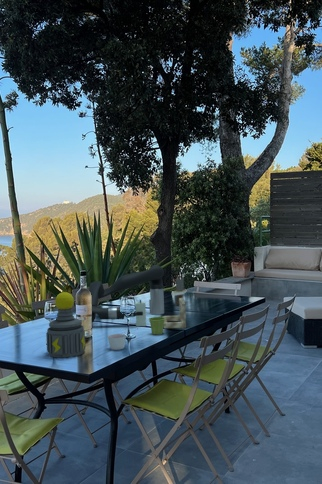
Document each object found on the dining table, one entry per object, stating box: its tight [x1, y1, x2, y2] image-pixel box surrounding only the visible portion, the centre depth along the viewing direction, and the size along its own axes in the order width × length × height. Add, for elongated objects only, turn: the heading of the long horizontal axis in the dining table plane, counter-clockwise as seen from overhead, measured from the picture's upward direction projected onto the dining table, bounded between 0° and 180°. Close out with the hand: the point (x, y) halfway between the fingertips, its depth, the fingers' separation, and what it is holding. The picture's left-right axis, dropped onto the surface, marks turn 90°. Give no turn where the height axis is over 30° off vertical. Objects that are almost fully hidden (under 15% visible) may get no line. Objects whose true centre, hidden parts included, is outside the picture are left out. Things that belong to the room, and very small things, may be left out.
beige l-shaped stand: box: [162, 298, 187, 329], centre depth 302 cm, size 13×23×14 cm, turn 2°
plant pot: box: [148, 316, 165, 336], centre depth 277 cm, size 9×9×9 cm
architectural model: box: [171, 277, 188, 307], centre depth 374 cm, size 38×25×20 cm, turn 168°
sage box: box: [134, 299, 147, 327], centre depth 301 cm, size 6×5×16 cm
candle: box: [107, 333, 127, 351], centre depth 247 cm, size 9×9×6 cm
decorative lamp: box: [45, 291, 86, 359], centre depth 240 cm, size 19×19×30 cm
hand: (142, 312), depth 301 cm, fingers open, 8 cm apart
